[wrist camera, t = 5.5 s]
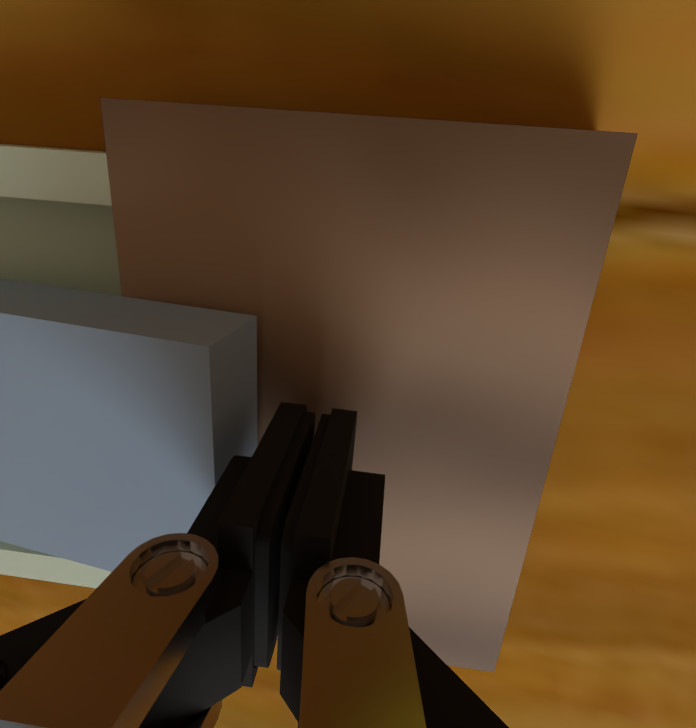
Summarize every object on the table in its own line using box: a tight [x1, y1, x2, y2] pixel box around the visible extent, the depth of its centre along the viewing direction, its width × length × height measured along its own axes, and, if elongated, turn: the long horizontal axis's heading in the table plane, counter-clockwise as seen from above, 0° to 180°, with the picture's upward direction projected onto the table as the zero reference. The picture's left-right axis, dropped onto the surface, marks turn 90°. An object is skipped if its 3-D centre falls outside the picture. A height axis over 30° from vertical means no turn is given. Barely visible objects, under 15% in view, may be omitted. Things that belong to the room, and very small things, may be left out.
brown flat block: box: [100, 97, 638, 672], centre depth 13 cm, size 14×10×2 cm
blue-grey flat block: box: [0, 279, 257, 572], centre depth 11 cm, size 6×9×2 cm, turn 86°
